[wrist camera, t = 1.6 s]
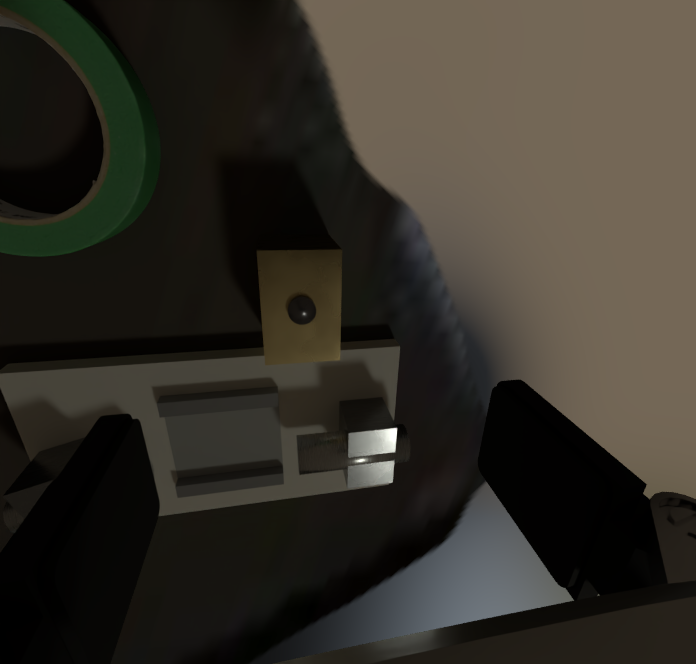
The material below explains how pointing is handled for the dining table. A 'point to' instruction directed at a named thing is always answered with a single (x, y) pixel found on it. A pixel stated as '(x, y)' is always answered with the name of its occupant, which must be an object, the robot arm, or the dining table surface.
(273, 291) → the tan box with knob
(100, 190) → the tape roll
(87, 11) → the dining table surface
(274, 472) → the mounting base plate
